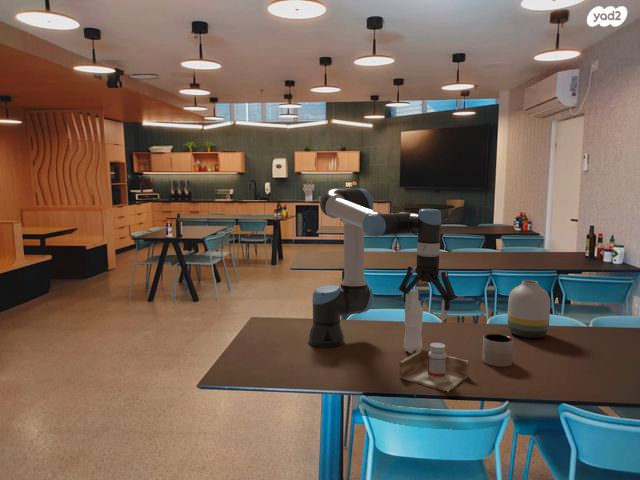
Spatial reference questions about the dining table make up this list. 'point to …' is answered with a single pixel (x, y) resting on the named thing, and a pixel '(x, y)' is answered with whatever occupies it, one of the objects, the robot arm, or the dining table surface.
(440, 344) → the pill bottle
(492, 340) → the planter
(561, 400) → the dining table surface
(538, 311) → the vase
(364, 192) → the robot arm
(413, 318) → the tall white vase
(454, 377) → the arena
